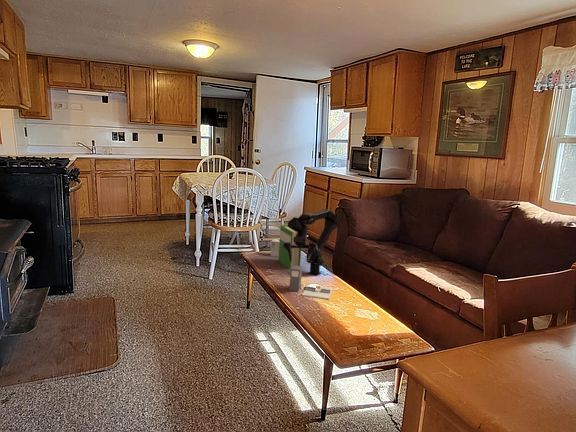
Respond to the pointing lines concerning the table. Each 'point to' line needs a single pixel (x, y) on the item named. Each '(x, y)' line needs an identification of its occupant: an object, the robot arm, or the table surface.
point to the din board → (318, 293)
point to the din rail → (315, 289)
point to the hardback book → (286, 236)
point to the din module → (295, 278)
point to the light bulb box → (275, 247)
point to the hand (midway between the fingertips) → (298, 261)
